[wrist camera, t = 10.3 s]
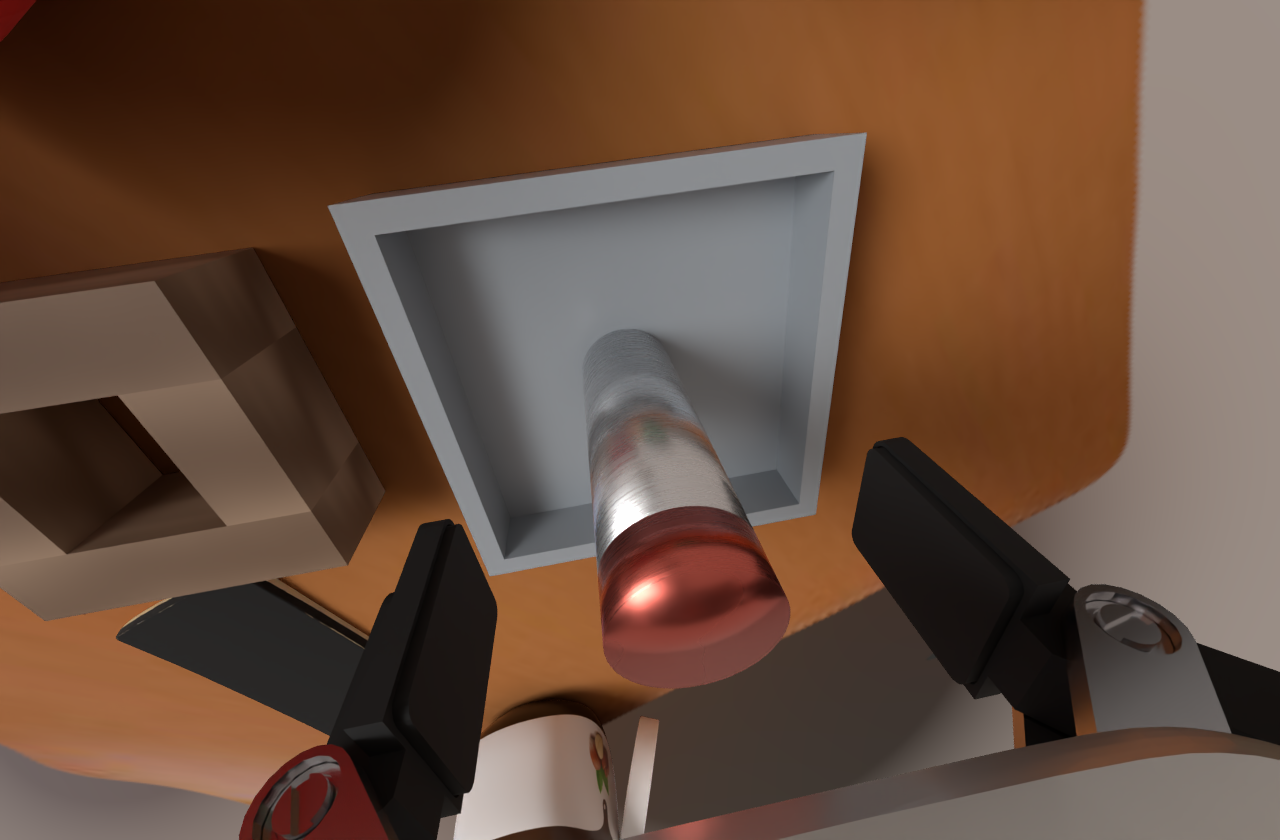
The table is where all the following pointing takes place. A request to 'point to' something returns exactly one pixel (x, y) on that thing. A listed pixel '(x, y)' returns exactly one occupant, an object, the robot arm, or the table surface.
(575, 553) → the slate tray
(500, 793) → the jar and lid
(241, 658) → the dark small pieces
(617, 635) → the steel pin
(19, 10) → the red bowl
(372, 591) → the table surface
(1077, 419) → the table surface
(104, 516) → the walnut socket block
